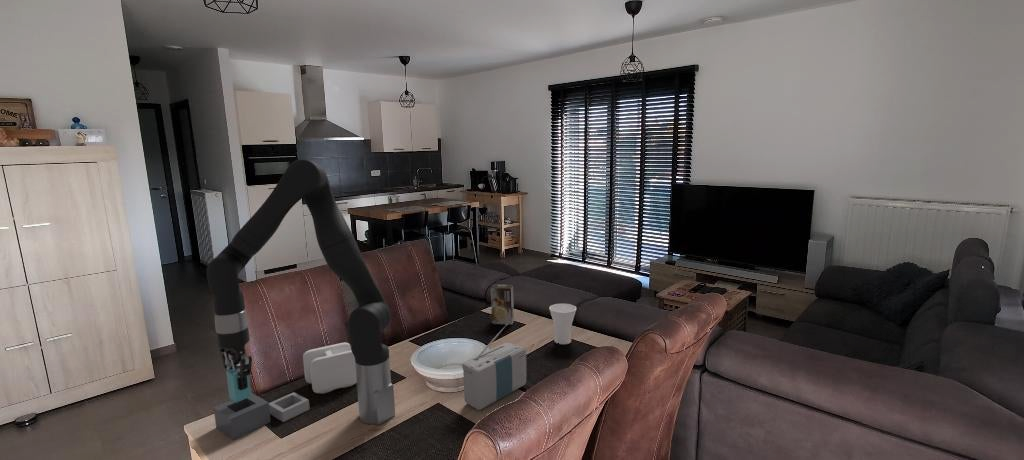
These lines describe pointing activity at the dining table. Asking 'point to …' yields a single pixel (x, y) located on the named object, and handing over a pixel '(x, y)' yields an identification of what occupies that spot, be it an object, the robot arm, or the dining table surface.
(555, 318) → the cup
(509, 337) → the dining table surface
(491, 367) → the stereo radio cassette player
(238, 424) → the port
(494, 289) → the coffee box
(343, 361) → the cable organizer
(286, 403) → the grey square hollow frame
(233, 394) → the plug
